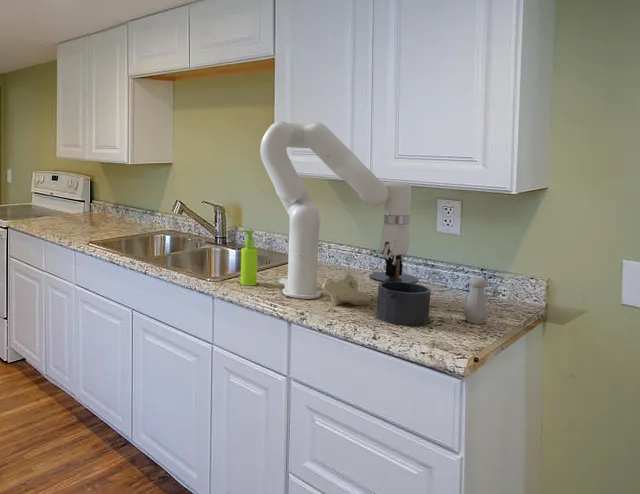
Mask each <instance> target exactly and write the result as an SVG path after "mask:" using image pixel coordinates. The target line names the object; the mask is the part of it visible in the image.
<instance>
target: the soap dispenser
mask: <svg viewBox="0 0 640 494" xmlns="http://www.w3.org/2000/svg"><path fill="white" fill-rule="evenodd" d="M238 232H239V233H247V238H245V239H244V247H242V248H240V280H239V281H240V282H239V283H240V285H243V286H247V287H249V286H256V285H257V283H258V257H259V256H258V253H259V249H258V248H256V247H255V241H256V240H255V238H254V237H253V234H254V233H255V230H254V229H241V230H238Z"/></svg>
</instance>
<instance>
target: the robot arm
mask: <svg viewBox="0 0 640 494" xmlns="http://www.w3.org/2000/svg"><path fill="white" fill-rule="evenodd" d="M288 148H294V149H295V148H296V149H297V148H298V149H310V150H311V151H312V152H313V153H314V154H315V155H316V156H317V157H318V158H319V159H320V160H321V161H322V162H323V163H324V164H325V166H327V167H328V168H329V169H330V170H331V171H332V172H333V173H334V174H335V175H336V176H338V177H339V178H341V179H342V180H343V181H344V182H345V183H346V184H348V185H349V187H351V188H352V189H353V190H354V191H355V192H356V193H357V194H358V195H359V196H358V197H359V199H361V200H362V201H363V202H364V203H366V204H367V205H369V206H371V207H372V206H373V207H378V206H382V205H384V207H383V209H384V211H383V224H382V225H383V226H382V229H381V235H380V242H379V254H380V255H381V258H382V259H383V260H384V261H385V262H384V263H385V272H386V276H390V277H396V265H395V261H396V259H400V265H399V275H402V274H403V266H404V265H403V264H404V261H405V260H404V258H405V256H406V255H407V254H408V252H409V245H410V228H409V226H410V221H411V220H410V219H411V203H412V202H411V201H412V185H411V184H410V182H406V181H389V182H385V181H381V180H380V179H379V178H378V177H377V176H376V175H375V173H374V172H372V171H371V170H370V169H369V168H368V167H367V166H366V165H365V164H364V163H363V162H362V161H361V160H360V159H359V158H358V156H357V155H356V154H354V152H353V151H352V150H351V149H350V148H348V147H347V145H346V144H344V142H343V141H341V139H339V137H338V136H337V135H336V134H334V132H332V130H331V129H330V128H328V126H327V125H325V124H323V123H322V122H313V123H298V122H297V123H296V122H286V121H282V120H281V121H280V120H279V121H276V122H274V123H272V124H271V125H270V126H269V127H268V128H267V129H266V131H265V133H264V135H263V136H262V139H261V141H260V149H259V151H260V158H261V162H262V164H263V166H264V168H265V171H266V172H267V175H268V177H269V179H270V181H271V183H272V185H273V187H274V190H275V193H276V195H277V196H278V198H279V200H280V201H281V204H282V206H283V207H284V210H285V211H286V213H287V215H288V217H289V232H288V233H289V234H288V257H287V258H288V259H287V262H288V263H287V277H281V278H280V280H279V281H278V283H279V284H280V285H284V288H282V294H283V295H284V296H287V297H289V298H294V299H302V300H303V299H304V300H307V299H308V300H313V299H318V298H320V297H321V296H322V292H321V291H320V290H319V289H317V285H318V284H317V283H318V281H317V280H318V264H319V263H318V262H319V260H318V259H319V237H320V227H321V215H320V211H319V209H318V208H317V207H316V205H315V203H314V201H313V198H312V197H311V195H310V193H309V192H308V190H307V188H306V185H305V183H304V181H303V179H302V178H301V177H300V175H299V174H298V172H297V170H296V169H295V166H294V165H293V162H292V160H291V159H290V156H289V154H288Z"/></svg>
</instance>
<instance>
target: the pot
mask: <svg viewBox="0 0 640 494" xmlns="http://www.w3.org/2000/svg"><path fill="white" fill-rule="evenodd" d="M431 293H432V289H431V288H429V287H428V286H426V285H424V284H419V283H415V284H414V283H407V282H383V283H382V282H379V283H378V288H377V302H376V304H377V305H376V317H377V318H378V319H379V320H381V321H384V322H387V323H389V324H393V325H398V326H406V327H421V326H422V327H423V326H425V325H428V324H429V319H430V307H431V295H432V294H431Z"/></svg>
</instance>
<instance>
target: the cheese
mask: <svg viewBox="0 0 640 494" xmlns="http://www.w3.org/2000/svg"><path fill="white" fill-rule="evenodd" d="M332 277H333V276H332V275H331V276H330V277H328V278H326V279H325V280H324V282H323V283H322V286H321V289H323V290H324V291H325V292H326V293H327V294H328V295H329V296H330V297H329V298H330V299H331V302H332V303H333V305H334V306H336V305H337V304H338V303H346V304H351V305H355V306H359V305H360V306H367V305H369V304H370V303H371V302H372V298H371V296H370V295H369V294H368V293H367V292H365V291H359V290H358V289H359V284H358V281H357V279H355V277H354V276H353V275H351V274H349V273H347V274H345V275H344V276H343V277H341V278H339V279H335V280H333V278H332Z"/></svg>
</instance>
